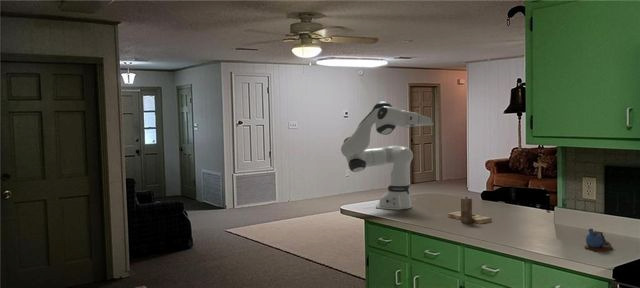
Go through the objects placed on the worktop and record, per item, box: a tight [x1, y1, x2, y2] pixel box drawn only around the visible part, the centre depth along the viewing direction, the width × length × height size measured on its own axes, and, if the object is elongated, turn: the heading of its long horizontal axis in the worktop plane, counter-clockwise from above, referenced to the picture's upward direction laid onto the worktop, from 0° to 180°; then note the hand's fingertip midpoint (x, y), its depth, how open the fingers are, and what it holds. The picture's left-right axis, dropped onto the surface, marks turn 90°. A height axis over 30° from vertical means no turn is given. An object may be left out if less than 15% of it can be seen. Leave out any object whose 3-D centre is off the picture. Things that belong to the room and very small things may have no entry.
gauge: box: [460, 196, 477, 225], centre depth 285 cm, size 8×4×14 cm, turn 119°
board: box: [447, 210, 493, 225], centre depth 293 cm, size 24×9×2 cm, turn 29°
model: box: [584, 228, 614, 252], centre depth 226 cm, size 12×9×9 cm
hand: (427, 124), depth 288 cm, fingers open, 8 cm apart
